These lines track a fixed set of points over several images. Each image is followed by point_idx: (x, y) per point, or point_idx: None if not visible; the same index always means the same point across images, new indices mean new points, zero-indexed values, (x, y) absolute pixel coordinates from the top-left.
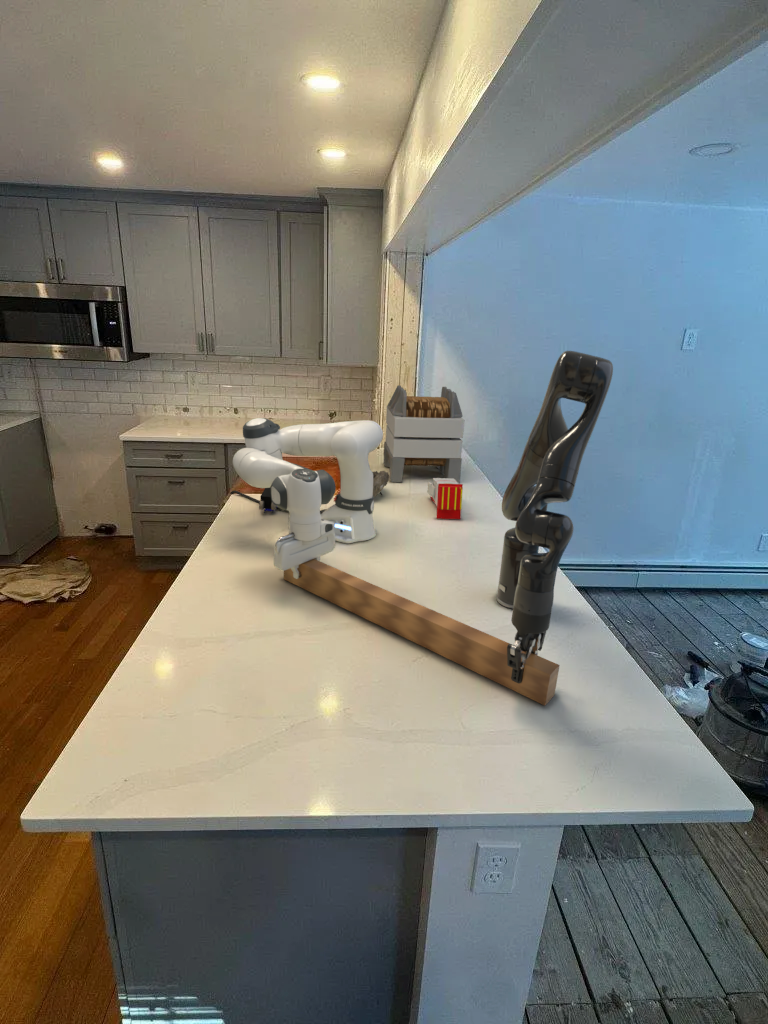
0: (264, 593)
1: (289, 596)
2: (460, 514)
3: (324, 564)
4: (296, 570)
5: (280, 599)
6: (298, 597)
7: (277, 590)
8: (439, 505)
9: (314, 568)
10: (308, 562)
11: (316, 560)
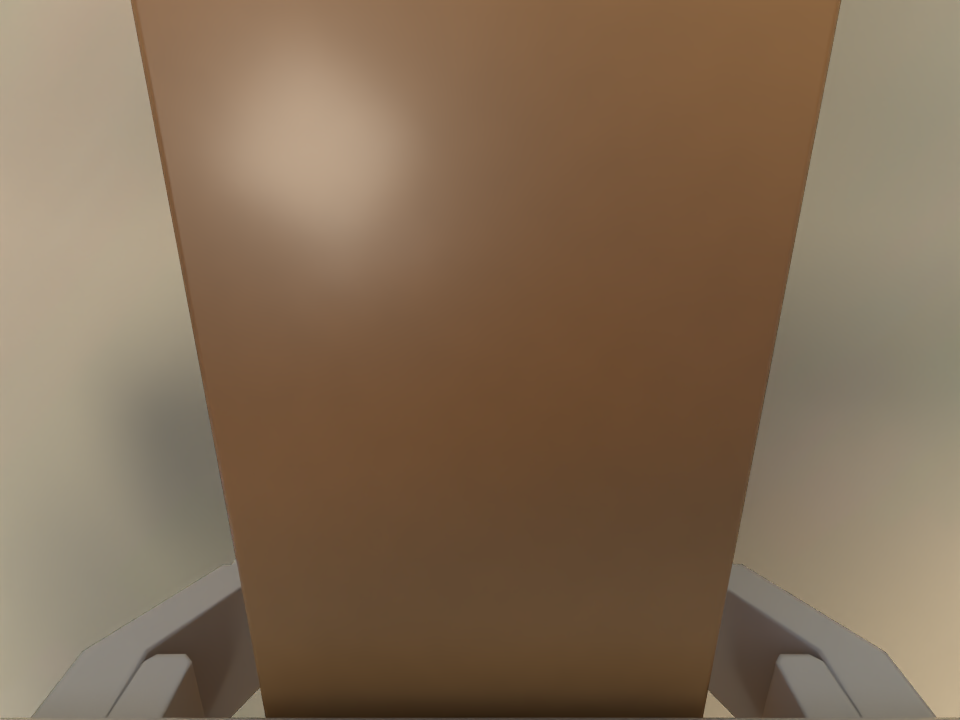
0: (923, 581)
1: (834, 360)
2: None
3: (246, 260)
4: (809, 618)
5: (955, 378)
6: (793, 262)
7: (792, 544)
8: None
9: (743, 275)
10: (530, 668)
11: (273, 621)
